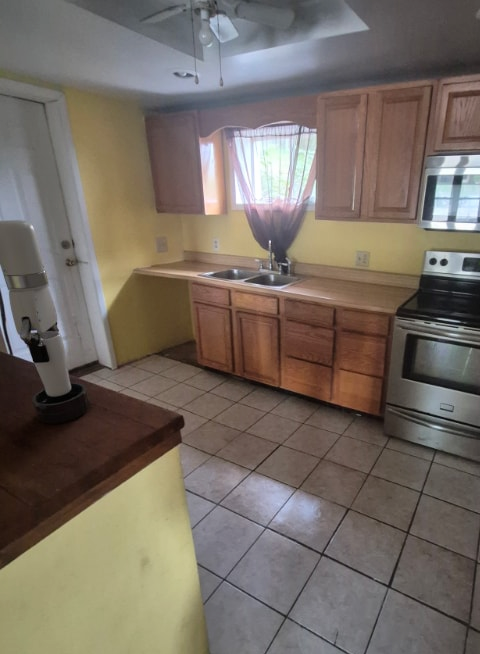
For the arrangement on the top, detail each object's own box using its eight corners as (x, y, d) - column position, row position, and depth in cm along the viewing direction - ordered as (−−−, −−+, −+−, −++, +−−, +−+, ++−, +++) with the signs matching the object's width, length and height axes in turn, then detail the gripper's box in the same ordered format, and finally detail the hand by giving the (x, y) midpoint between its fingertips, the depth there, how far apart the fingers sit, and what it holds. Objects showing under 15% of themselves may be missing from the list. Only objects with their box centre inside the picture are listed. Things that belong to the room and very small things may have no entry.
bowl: (30, 427, 88) (23, 407, 86) (49, 402, 98) (44, 384, 96) (81, 422, 90) (76, 402, 88) (95, 399, 100) (91, 381, 98)
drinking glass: (46, 388, 93) (30, 332, 87) (77, 384, 95) (63, 329, 90) (40, 401, 87) (21, 342, 82) (72, 396, 90) (57, 338, 84)
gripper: (26, 273, 88) (46, 343, 95) (-16, 291, 72) (12, 373, 79) (61, 272, 89) (78, 341, 96) (27, 289, 73) (51, 370, 80)
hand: (48, 354), depth 87 cm, fingers closed on drinking glass, 6 cm apart
